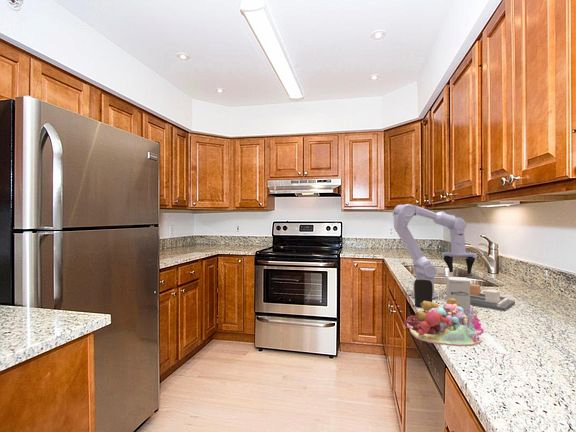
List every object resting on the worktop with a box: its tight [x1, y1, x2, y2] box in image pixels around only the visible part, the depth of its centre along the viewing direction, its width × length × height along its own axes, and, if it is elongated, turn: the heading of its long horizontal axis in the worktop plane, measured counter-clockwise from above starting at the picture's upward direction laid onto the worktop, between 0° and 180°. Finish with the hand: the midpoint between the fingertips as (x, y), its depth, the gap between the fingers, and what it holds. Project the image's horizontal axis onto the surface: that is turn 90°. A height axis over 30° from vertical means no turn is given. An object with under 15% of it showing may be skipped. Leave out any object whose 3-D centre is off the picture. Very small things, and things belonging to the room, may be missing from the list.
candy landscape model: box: [403, 298, 485, 347], centre depth 101 cm, size 25×24×9 cm
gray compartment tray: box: [470, 293, 516, 312], centre depth 132 cm, size 15×19×2 cm
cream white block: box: [484, 289, 501, 303], centre depth 126 cm, size 4×4×5 cm
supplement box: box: [445, 275, 471, 315], centre depth 121 cm, size 7×7×13 cm
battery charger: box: [413, 277, 434, 308], centre depth 127 cm, size 7×4×11 cm, turn 66°
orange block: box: [470, 283, 482, 296], centre depth 137 cm, size 4×4×5 cm
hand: (460, 272), depth 143 cm, fingers open, 7 cm apart
